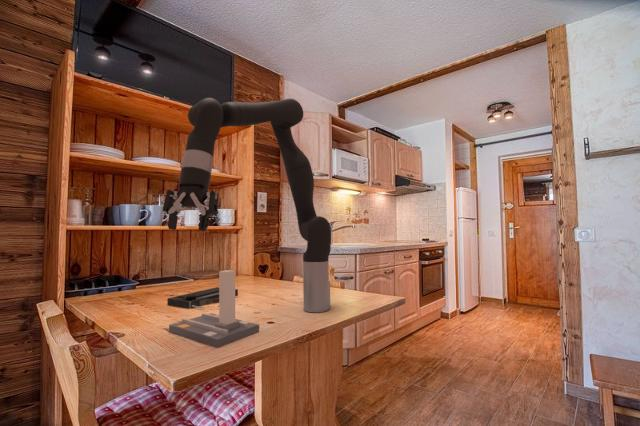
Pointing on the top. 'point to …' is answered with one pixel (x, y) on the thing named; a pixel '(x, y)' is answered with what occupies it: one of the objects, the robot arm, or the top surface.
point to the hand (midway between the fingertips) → (186, 230)
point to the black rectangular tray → (196, 299)
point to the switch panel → (212, 330)
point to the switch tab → (227, 300)
